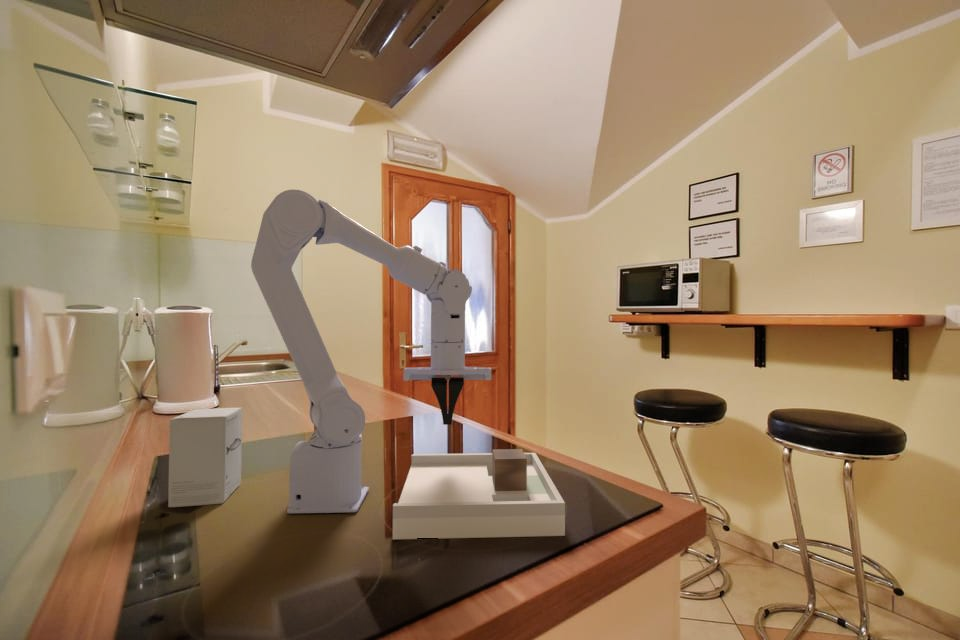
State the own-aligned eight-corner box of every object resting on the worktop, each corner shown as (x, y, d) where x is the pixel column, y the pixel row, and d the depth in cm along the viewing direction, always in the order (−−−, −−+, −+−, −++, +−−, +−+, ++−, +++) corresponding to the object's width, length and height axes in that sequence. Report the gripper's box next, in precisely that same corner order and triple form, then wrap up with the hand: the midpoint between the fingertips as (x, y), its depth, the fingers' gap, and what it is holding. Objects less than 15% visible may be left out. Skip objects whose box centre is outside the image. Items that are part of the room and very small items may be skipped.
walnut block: (494, 491, 58) (494, 459, 58) (492, 479, 62) (492, 449, 62) (526, 490, 58) (526, 458, 58) (521, 478, 63) (521, 449, 63)
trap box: (392, 539, 50) (392, 506, 50) (411, 477, 70) (412, 454, 70) (565, 535, 51) (565, 502, 51) (535, 476, 71) (535, 452, 71)
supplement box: (224, 504, 59) (225, 416, 59) (166, 508, 58) (167, 418, 58) (242, 484, 67) (243, 406, 67) (191, 488, 65) (192, 408, 65)
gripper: (400, 342, 65) (400, 429, 65) (492, 343, 66) (492, 428, 65) (406, 341, 72) (406, 419, 72) (489, 341, 73) (489, 418, 72)
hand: (447, 423), depth 69 cm, fingers closed
